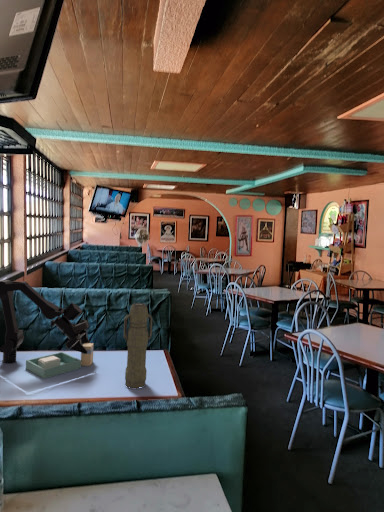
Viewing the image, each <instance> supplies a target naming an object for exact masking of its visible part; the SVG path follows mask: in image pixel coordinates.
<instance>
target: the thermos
mask: <svg viewBox="0 0 384 512" xmlns="http://www.w3.org/2000/svg"><path fill="white" fill-rule="evenodd" d="M128 319H129V321H128ZM148 319H149V325H147V323H148ZM123 320H124V322H123V339H125V340H126V345H127V346H126V347H127V357H126V359H127V361H126V367H125V372H124V380H125V382H124V383H125V384H124V386H125V385H126V386H127V387H130V388H139V387H142V386H144V385H145V386H146V380H147V368H146V362H147V361H146V360H147V347H148V343H149V340H150V339H152V335H153V316H152V315H151V314H149V311H148V307H147V304H145V303H143V302H135V303H132V304H131V306H130V309H129V314H127V315H126V316H125V317H124V318H123ZM128 322H129V325H128ZM148 326H149V327H148ZM148 328H149V329H148ZM127 329H128V330H127ZM126 386H125V387H126ZM127 387H126V388H127ZM130 388H129V389H130Z"/></svg>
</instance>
